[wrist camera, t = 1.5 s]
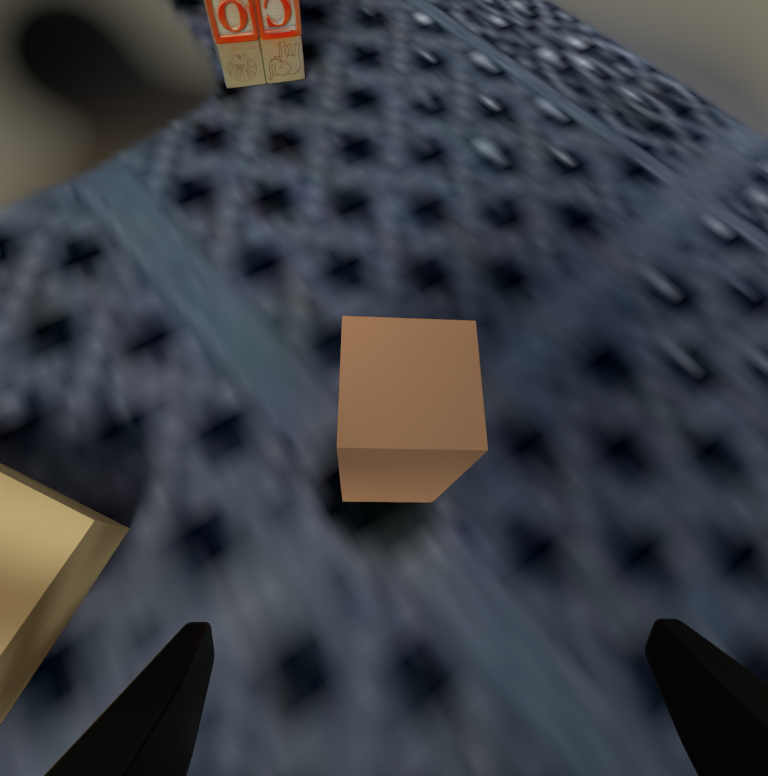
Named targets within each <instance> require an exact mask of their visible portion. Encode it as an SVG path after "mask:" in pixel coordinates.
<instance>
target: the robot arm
mask: <svg viewBox="0 0 768 776" xmlns="http://www.w3.org/2000/svg"><path fill="white" fill-rule="evenodd" d="M645 654H646V658H647V661H648V663H649V666H650V668H651V670H652V673H653V675H654V678H655V680H656V683H657V685H658V687H659V690H660V692H661V695H662V697H663V699H664V702H665V704H666V707H667V709H668V711H669V714H670V716H671V719H672V721H673V723H674V726H675V728H676V730H677V733H678V735H679V737H680V739H681V742H682V744H683V746H684V748H685V750H686V752H687V754H688V756H689V758H690V760H691V762H692V764H693V766H694V768H695V770H696V772H697V774H698V776H768V684H767V683H766V682H765V681H763V680H762V679H760V678H759V677H758V676H756V675H755V674H754V673H752V672H751V671H749V670H748V669H747V668H745V667H744V666H742V665H741V664H740V663H738V662H737V661H736V660H734V659H733V658H731V657H730V656H729V655H727V654H726V653H724V652H723V651H722V650H720V649H719V648H718V647H716V646H715V645H713V644H712V643H711V642H709V641H708V640H706V639H705V638H704V637H702V636H701V635H699V634H698V633H697V632H695V631H694V630H693V629H691V628H690V627H688V626H687V625H686V624H684V623H683V622H681V621H679V620H677V619H657V620H656V621H655V622H654V624H653V627H652V629H651V632H650V635H649V637H648V640H647V643H646V646H645ZM213 662H214V646H213V638H212V631H211V626H210V624H209V623H208V622H190V623H188V624H186V625H185V626H184V627H183V628H182V629H181V630H180V631H179V632H178V633H177V634H176V635H175V636H174V637H173V638H172V639H171V641H170V642H169V643H168V644H167V645H166V646H165V647H164V648H163V649H162V650H161V651H160V652H159V653H158V654H157V655H156V657H155V658H154V659H153V660H152V661H151V662H150V663H149V664H148V665H147V666H146V667H145V668H144V669H143V670H142V672H141V673H140V674H139V675H138V676H137V677H136V678H135V679H134V680H133V681H132V682H131V683H130V684H129V685H128V686H127V688H126V689H125V690H124V691H123V692H122V693H121V694H120V695H119V696H118V697H117V698H116V699H115V700H114V701H113V702H112V704H111V705H110V706H109V707H108V708H107V709H106V710H105V711H104V712H103V713H102V714H101V715H100V716H99V717H98V718H97V720H96V721H95V722H94V723H93V724H92V725H91V726H90V727H89V728H88V729H87V730H86V731H85V732H84V733H83V735H82V736H81V737H80V738H79V739H78V740H77V741H76V742H75V743H74V744H73V745H72V746H71V747H70V748H69V749H68V751H67V752H66V753H65V754H64V755H63V756H62V757H61V758H60V759H59V760H58V761H57V762H56V763H55V764H54V765H53V767H52V768H51V769H50V770H49V771H48V772H47V773H46V774H45V775H44V776H186V774H187V771H188V768H189V765H190V761H191V758H192V754H193V750H194V746H195V742H196V738H197V733H198V729H199V725H200V720H201V716H202V711H203V707H204V703H205V698H206V694H207V689H208V685H209V680H210V676H211V672H212V667H213Z"/></svg>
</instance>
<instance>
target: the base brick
mask: <svg viewBox="0 0 768 776" xmlns="http://www.w3.org/2000/svg"><path fill="white" fill-rule="evenodd" d="M129 529H130V528H128V527H126V526H124V525H122V524H120V523H118V522H116V521H114V520H112V519H110V518H108V517H106V516H104V515H102V514H100V513H98V512H96V511H94V510H92V509H90V508H88V507H86V506H84V505H82V504H80V503H78V502H76V501H74V500H72V499H70V498H69V497H67V496H65V495H63V494H61V493H59V492H57V491H55V490H53V489H51V488H49V487H47V486H45V485H43V484H41V483H39V482H37V481H35V480H33V479H31V478H29V477H27V476H25V475H23V474H21V473H19V472H17V471H15V470H13V469H11V468H9V467H7V466H5V465H3V464H2V463H0V725H1V723H2V722H3V720H4V719H5V717H6V715H7V714H8V712H9V711H10V709H11V708H12V706H13V705H14V703H15V702H16V700H17V699H18V697H19V696H20V694H21V693H22V691H23V690H24V688H25V687H26V685H27V684H28V682H29V681H30V679H31V678H32V676H33V674H34V673H35V671H36V670H37V668H38V667H39V665H40V664H41V662H42V661H43V659H44V658H45V656H46V655H47V653H48V652H49V650H50V649H51V647H52V646H53V644H54V643H55V641H56V640H57V638H58V637H59V635H60V634H61V632H62V630H63V629H64V627H65V626H66V624H67V623H68V621H69V620H70V618H71V617H72V615H73V614H74V612H75V611H76V609H77V608H78V606H79V605H80V603H81V602H82V600H83V599H84V597H85V596H86V594H87V593H88V591H89V590H90V588H91V586H92V585H93V583H94V582H95V580H96V579H97V577H98V576H99V574H100V573H101V571H102V570H103V568H104V567H105V565H106V564H107V562H108V561H109V559H110V558H111V556H112V555H113V553H114V552H115V550H116V549H117V547H118V545H119V544H120V542H121V541H122V539H123V538H124V536H125V535H126V533H127V532H128V530H129Z"/></svg>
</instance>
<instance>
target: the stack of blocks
mask: <svg viewBox="0 0 768 776" xmlns="http://www.w3.org/2000/svg"><path fill="white" fill-rule="evenodd" d="M204 4H205V8H206V12H207V16H208V20H209V24H210V28H211V32H212V36H213V40H214V44H215V48H216V52H217V56H218V60H219V62H220V65H221V69H222V73H223V77H224V80H225V84H226V87H227V88H235V87H244V86H252V85H260V84H265V83H268V84H270V83H279V82H286V81H294V80H301V79H305V71H304V56H303V48H302V38H301V35H302V29H301V16H300V5H299V0H204Z"/></svg>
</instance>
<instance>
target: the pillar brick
mask: <svg viewBox="0 0 768 776" xmlns="http://www.w3.org/2000/svg"><path fill="white" fill-rule="evenodd" d="M487 451H488V445H487V434H486V424H485V413H484V402H483V392H482V381H481V371H480V360H479V349H478V339H477V328H476V321H470V320H442V319H415V318H387V317H359V316H342V335H341V359H340V383H339V407H338V430H337V454H338V464H339V473H340V482H341V491H342V500H343V501H349V502H433V501H434V500H435V499H436V498H437V497H438V496H439V495H441V494H442V493H443V492H444V491H445V490H446V489H447V488H448V487H449V486H450V485H451V484H452V483H453V482H455V481H456V480H457V479H458V478H459V477H460V476H461V475H462V474H463V473H464V472H465V471H466V470H467V469H469V468H470V467H471V466H472V465H473V464H474V463H475V462H476V461H477V460H478V459H479V458H480V457H481V456H483V455H484V454H485V453H486V452H487Z"/></svg>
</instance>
